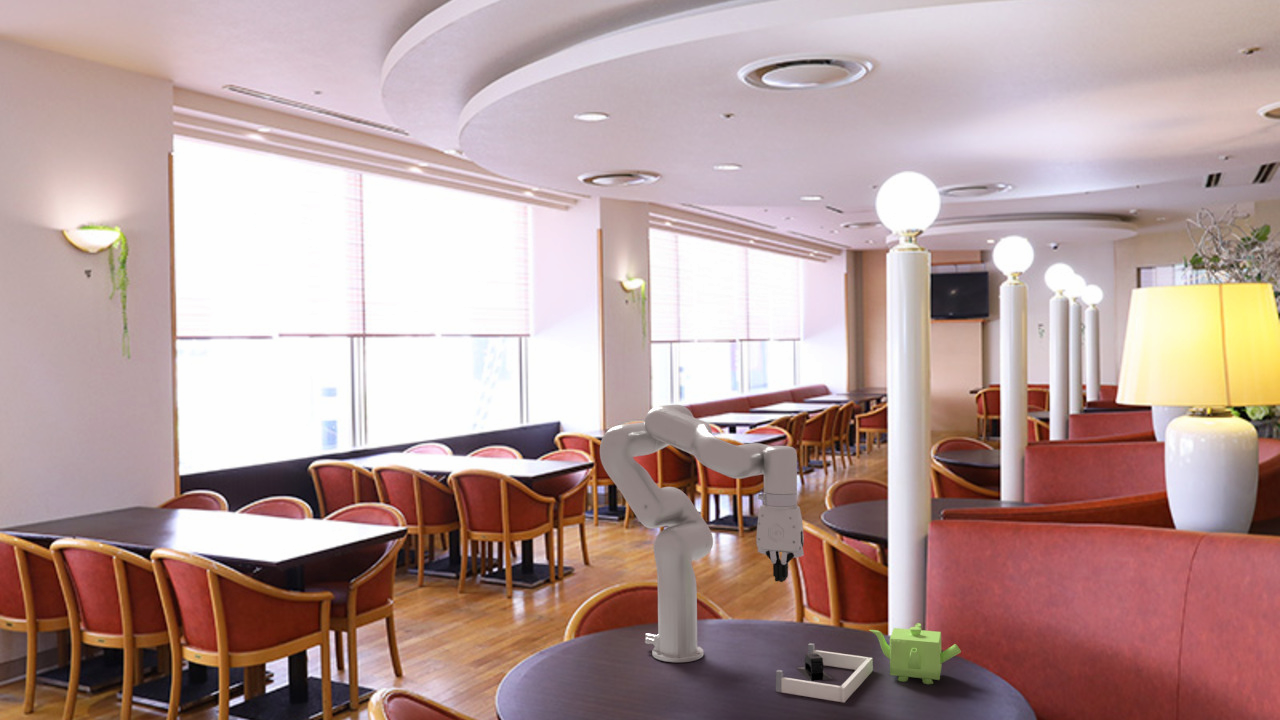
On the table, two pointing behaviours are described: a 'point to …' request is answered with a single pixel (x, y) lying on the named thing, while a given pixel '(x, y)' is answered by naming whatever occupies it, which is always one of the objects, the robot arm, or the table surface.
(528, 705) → the table surface
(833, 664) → the bay
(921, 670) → the kettle
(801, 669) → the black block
